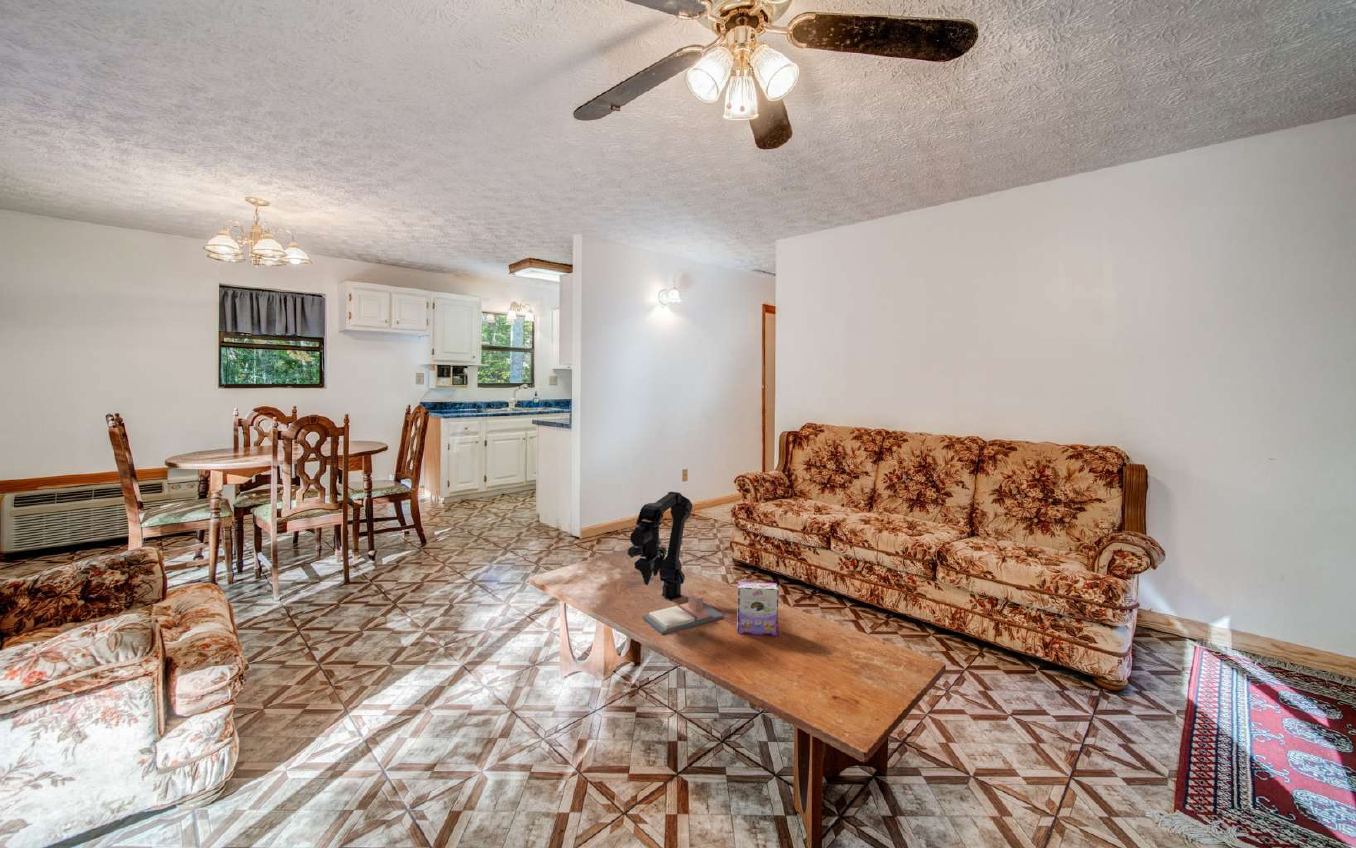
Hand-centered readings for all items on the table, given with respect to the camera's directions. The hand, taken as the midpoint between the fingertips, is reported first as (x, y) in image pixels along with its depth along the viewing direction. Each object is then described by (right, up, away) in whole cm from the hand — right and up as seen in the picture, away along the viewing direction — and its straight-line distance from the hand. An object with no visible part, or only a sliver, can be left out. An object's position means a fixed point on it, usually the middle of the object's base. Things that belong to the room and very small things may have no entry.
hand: (650, 580), depth 193 cm
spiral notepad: (+8, -12, -6) cm, 16 cm away
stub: (+16, -12, 0) cm, 20 cm away
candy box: (+37, -14, -12) cm, 42 cm away
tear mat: (+12, -13, -3) cm, 18 cm away
